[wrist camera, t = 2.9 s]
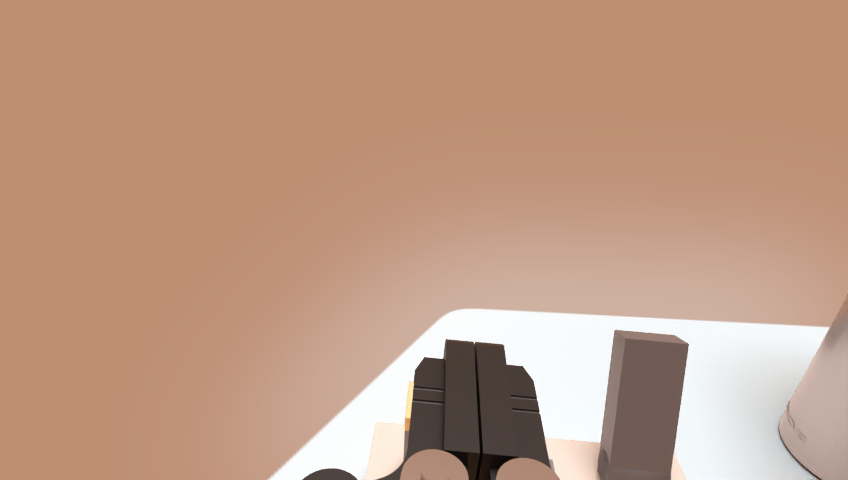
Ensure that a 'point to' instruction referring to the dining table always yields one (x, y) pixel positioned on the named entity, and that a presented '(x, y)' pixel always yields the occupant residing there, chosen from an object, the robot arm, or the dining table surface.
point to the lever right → (642, 406)
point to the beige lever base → (565, 456)
